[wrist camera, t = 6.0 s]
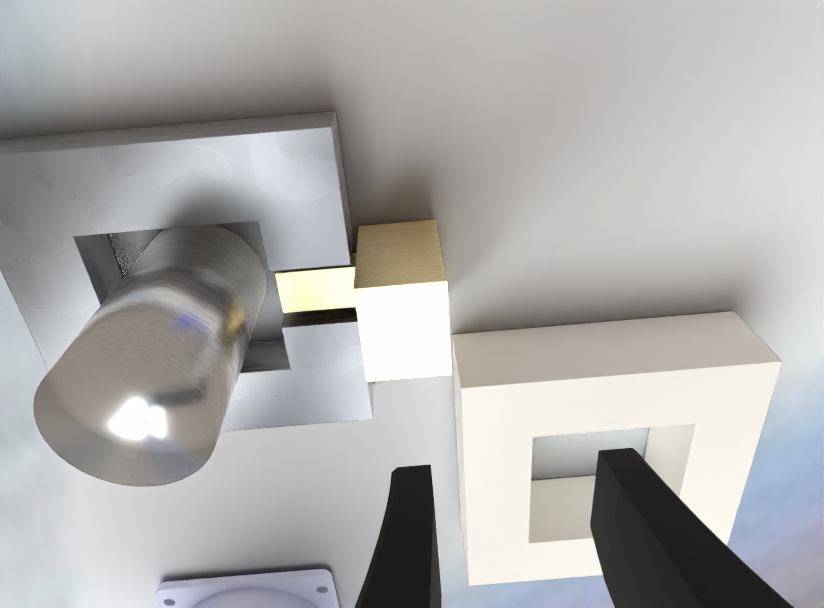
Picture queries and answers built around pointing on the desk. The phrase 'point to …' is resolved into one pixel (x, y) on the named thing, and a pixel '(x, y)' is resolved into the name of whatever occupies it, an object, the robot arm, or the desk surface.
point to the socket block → (183, 207)
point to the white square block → (600, 428)
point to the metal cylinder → (156, 361)
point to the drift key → (385, 298)
